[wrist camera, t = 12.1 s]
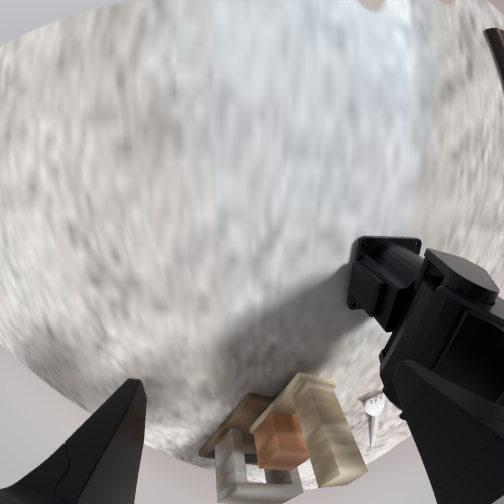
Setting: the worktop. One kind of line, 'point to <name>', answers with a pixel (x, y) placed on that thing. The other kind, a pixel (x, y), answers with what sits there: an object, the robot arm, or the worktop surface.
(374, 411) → the fork
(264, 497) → the tunnel
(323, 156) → the worktop surface
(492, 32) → the hardcover book
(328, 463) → the beige orange stepped block
